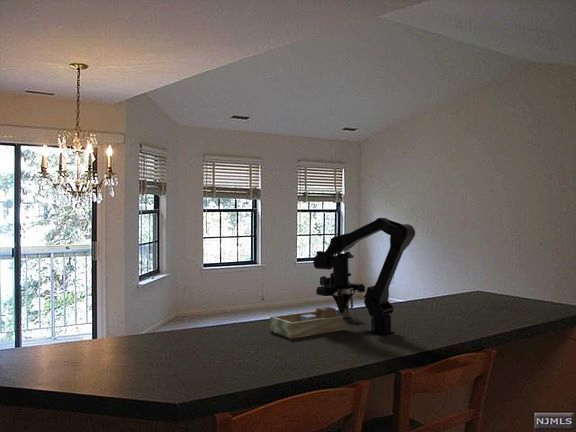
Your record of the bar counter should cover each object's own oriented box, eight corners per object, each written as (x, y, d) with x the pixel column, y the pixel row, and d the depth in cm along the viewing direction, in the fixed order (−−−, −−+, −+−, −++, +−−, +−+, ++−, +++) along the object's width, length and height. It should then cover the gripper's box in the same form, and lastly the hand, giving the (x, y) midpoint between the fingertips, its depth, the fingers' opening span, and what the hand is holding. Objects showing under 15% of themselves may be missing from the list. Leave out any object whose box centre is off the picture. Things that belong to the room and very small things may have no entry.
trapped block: (317, 328, 186) (317, 315, 186) (308, 329, 183) (308, 317, 183) (309, 326, 189) (309, 314, 189) (300, 328, 186) (300, 315, 186)
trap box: (343, 329, 181) (343, 315, 181) (291, 338, 169) (291, 323, 169) (319, 323, 193) (319, 310, 193) (270, 330, 181) (270, 316, 181)
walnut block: (335, 322, 182) (335, 308, 182) (324, 324, 179) (324, 310, 179) (327, 320, 186) (327, 306, 186) (316, 322, 183) (316, 308, 183)
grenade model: (346, 319, 200) (345, 281, 200) (336, 316, 206) (335, 279, 206) (359, 317, 203) (358, 280, 203) (348, 315, 209) (348, 278, 209)
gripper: (346, 267, 198) (347, 307, 198) (307, 270, 188) (307, 312, 188) (365, 269, 189) (366, 311, 189) (325, 272, 179) (326, 317, 179)
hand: (341, 312), depth 186 cm, fingers closed
